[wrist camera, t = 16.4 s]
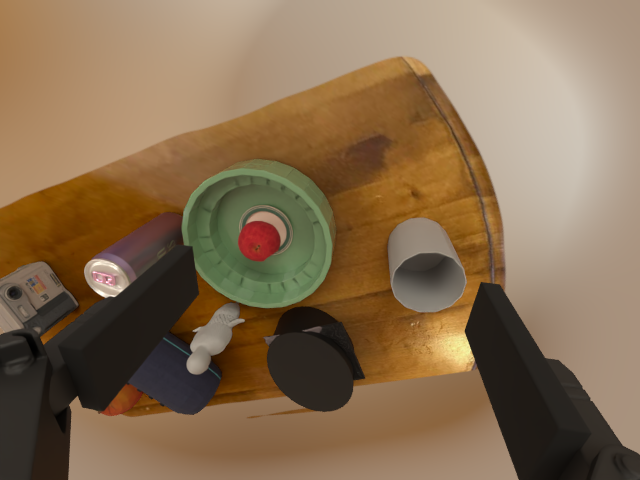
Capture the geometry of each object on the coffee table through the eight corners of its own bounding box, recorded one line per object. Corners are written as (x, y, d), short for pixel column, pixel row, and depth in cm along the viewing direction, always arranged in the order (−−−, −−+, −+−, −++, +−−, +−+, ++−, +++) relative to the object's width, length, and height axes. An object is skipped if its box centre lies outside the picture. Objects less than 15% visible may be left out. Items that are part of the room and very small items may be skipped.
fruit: (112, 380, 71) (74, 423, 62) (108, 349, 67) (67, 391, 58) (153, 392, 71) (122, 437, 62) (152, 361, 66) (118, 405, 57)
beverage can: (157, 206, 50) (78, 252, 37) (194, 215, 50) (128, 265, 37) (158, 240, 53) (86, 294, 40) (193, 249, 53) (132, 306, 39)
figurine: (217, 316, 58) (171, 386, 45) (207, 299, 57) (156, 366, 44) (264, 306, 56) (230, 377, 42) (254, 287, 54) (216, 355, 41)
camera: (84, 308, 62) (36, 346, 53) (60, 312, 64) (10, 349, 55) (49, 256, 58) (-10, 289, 49) (25, 261, 59) (-37, 294, 50)
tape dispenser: (299, 381, 64) (292, 417, 58) (261, 313, 56) (248, 346, 50) (371, 369, 61) (373, 406, 54) (341, 295, 53) (339, 328, 46)
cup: (403, 278, 49) (410, 321, 41) (377, 235, 47) (378, 271, 38) (458, 254, 46) (478, 295, 38) (433, 207, 44) (448, 239, 35)
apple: (299, 214, 46) (288, 233, 41) (286, 260, 50) (275, 283, 44) (245, 197, 46) (227, 213, 41) (237, 244, 50) (219, 265, 44)
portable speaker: (101, 315, 63) (57, 355, 54) (120, 284, 58) (75, 321, 49) (210, 386, 67) (185, 432, 58) (235, 362, 63) (212, 408, 54)
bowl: (342, 165, 43) (338, 177, 38) (331, 292, 53) (326, 316, 47) (195, 151, 45) (171, 161, 40) (209, 276, 55) (191, 297, 49)
